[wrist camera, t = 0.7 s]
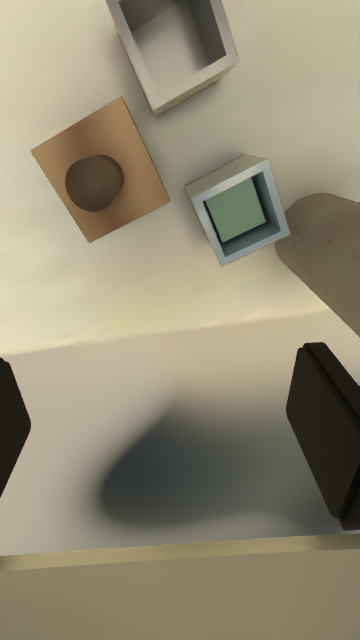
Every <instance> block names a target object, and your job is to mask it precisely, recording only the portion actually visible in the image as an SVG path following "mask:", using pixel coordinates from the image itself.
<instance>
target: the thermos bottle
mask: <svg viewBox="0 0 360 640" xmlns="http://www.w3.org/2000/svg"><path fill="white" fill-rule="evenodd" d="M285 218H286V221H287V225H288V228H289V231H290V235H288V236H286V237H284V238H282V239H280V240H278V241H275V244H276V250H277V253H278V256H279V257H280V259H281V260H282V262H283V263H284V264H285V265H286V266H287V267H288V268H289V269H290V270H291V271H292V272H293V273H295V274H296V275H297V276H298V277H299V278H300V279H301V280H302V281H303V282H304V283H305V284H306V285H307V286H308V287H309V288H310V289H311V290H312V291H313V292H314V293H315V294H316V295H317V296H318V297H319V298H320V299H321V300H322V301H323V302H325V303H326V304H327V305H328V306H329V307H330V308H331V309H332V310H333V311H334V312H335V313H336V314H337V315H338V316H339V317H340V318H341V319H342V320H343V321H344V322H345V323H346V324H347V325H348V326H349V327H350V328H351V329H352V330H353V331H354V332H355V333H356V334H357V335H358V336H359V337H360V203H357V202H354V201H351V200H348V199H345V198H341V197H338V196H335V195H332V194H325V193H321V194H314V195H310V196H307V197H305V198H303V199H301V200H299V201H298V202H297V203H295V204H294V205H293V206H292V207H291V208H290V209H289V210H288V211H287V212H286V213H285Z"/></svg>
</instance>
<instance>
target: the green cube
mask: <svg viewBox="0 0 360 640" xmlns="http://www.w3.org/2000/svg"><path fill="white" fill-rule="evenodd" d="M203 202H204V205H205V207H206V209H207V212H208V214H209V217H210V219H211V221H212V224H213V226H214V229H215V231H216V233H217V234H218V236H219V237H220V239H221V241H222V242H225V241H227V240H229V239H231V238H233V237H235V236H238V235H240V234H242V233H244V232H246V231H248V230H250V229H252V228H254V227H256V226H258V225H261V224H263V223H265V222H266V221H265V218H264V215H263V212H262V208H261V205H260V202H259V199H258V196H257V193H256V190H255V187H254V184H253V181H252V178H251V177H250V178H248V179H246V180H244V181H242V182H240V183H238V184H236V185H234V186H232V187H230V188H228V189H226V190H224V191H222V192H220V193H218V194H216V195H214V196H212V197H210V198H208V199H207V200H205V201H203Z"/></svg>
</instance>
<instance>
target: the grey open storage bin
mask: <svg viewBox="0 0 360 640" xmlns="http://www.w3.org/2000/svg"><path fill="white" fill-rule="evenodd" d="M106 3H107V6H108V8H109V11H110V14H111V16H112V19H113V22H114V24H115V27H116V30H117V32H118V34H119V37H120V39H121V41H122V44H123V46H124V48H125V50H126V53H127V55H128V57H129V60H130V62H131V64H132V67H133V69H134V71H135V73H136V76H137V78H138V80H139V83H140V85H141V87H142V90H143V92H144V94H145V96H146V99H147V101H148V103H149V106H150V108H151V110H152V112H153V115H154V117H155V116H157V115H159V114H160V113H162V112H164V111H166V110H167V109H169V108H171V107H173V106H174V105H176V104H178V103H180V102H181V101H183V100H185V99H187V98H188V97H190V96H192V95H194V94H195V93H197V92H199V91H201V90H202V89H204V88H206V87H208V86H209V85H211V84H213V83H215V82H216V81H218V80H220V79H221V78H222V77H223V76H224V75H225V74H226V73H227V72H228V71H229V70H230V69H231V68H232V67H233V66H234V65H236V64H237V63H238V62H239V59H238V55H237V52H236V49H235V45H234V42H233V39H232V35H231V32H230V28H229V25H228V22H227V18H226V15H225V11H224V8H223V5H222V1H221V0H106Z"/></svg>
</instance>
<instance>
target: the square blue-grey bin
mask: <svg viewBox="0 0 360 640" xmlns="http://www.w3.org/2000/svg"><path fill="white" fill-rule="evenodd" d="M250 177H251V178H252V181H253V184H254V187H255V190H256V193H257V196H258V199H259V202H260V205H261V208H262V212H263V215H264V218H265V221H266V222H265V223H263V224H261V225H258V226H256V227H254V228H252V229H250V230H248V231H246V232H244V233H242V234H240V235H238V236H235V237H233V238H231V239H229V240H227V241H225V242H222V241H221V239H220V237H219V236H218V234H217V233H216V231H215V229H214V226H213V224H212V221H211V219H210V217H209V214H208V212H207V209H206V207H205V205H204V202H203V201H205V200H207V199H208V198H210V197H212V196H214V195H216V194H218V193H220V192H222V191H224V190H226V189H228V188H230V187H232V186H234V185H236V184H238V183H240V182H242V181H244V180H246V179H248V178H250ZM185 188H186V191H187V193H188V195H189V197H190V200H191V202H192V204H193V207H194V209H195V211H196V214H197V216H198V218H199V220H200V223H201V225H202V227H203V230H204V232H205V234H206V236H207V239H208V241H209V243H210V245H211V247H212V249H213V251H214V253H215V255H216V257H217V259H218V261H219V263H220V265H221V267H222V266H224V265H226V264H228V263H230V262H232V261H235V260H237V259H239V258H241V257H243V256H245V255H247V254H250V253H252V252H254V251H256V250H258V249H260V248H263V247H265V246H267V245H269V244H271V243H273V242H275V241H278V240H280V239H282V238H284V237H286V236H288V235H290V231H289V228H288V225H287V221H286V218H285V214H284V211H283V208H282V204H281V201H280V198H279V194H278V191H277V187H276V184H275V181H274V177H273V174H272V170H271V167H270V164H269V160H268V159H267V158H261V157H256V156H250V155H243V156H241V157H239V158H237V159H235V160H233V161H231V162H229V163H227V164H225V165H224V166H222V167H220V168H218V169H216V170H214V171H212V172H210V173H208V174H206V175H204V176H202V177H201V178H199V179H197V180H195V181H193V182H191V183H189V184H187V185H185Z"/></svg>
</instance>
